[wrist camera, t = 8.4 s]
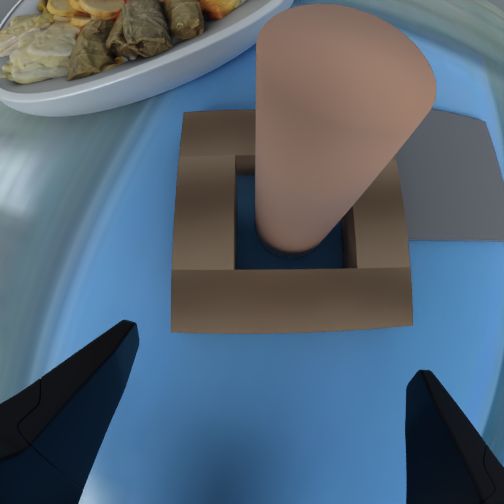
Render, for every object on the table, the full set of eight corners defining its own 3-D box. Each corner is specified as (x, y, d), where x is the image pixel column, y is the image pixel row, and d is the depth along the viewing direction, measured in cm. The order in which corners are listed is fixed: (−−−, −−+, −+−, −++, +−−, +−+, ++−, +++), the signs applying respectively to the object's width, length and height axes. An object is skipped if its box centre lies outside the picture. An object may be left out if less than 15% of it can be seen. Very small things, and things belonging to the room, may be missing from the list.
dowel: (334, 244, 18) (466, 116, 5) (269, 268, 18) (304, 152, 5) (309, 182, 19) (376, 1, 6) (245, 203, 19) (231, 15, 6)
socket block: (393, 324, 17) (412, 325, 15) (182, 330, 17) (171, 332, 15) (374, 137, 19) (386, 117, 17) (191, 134, 20) (183, 112, 17)
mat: (510, 241, 18) (514, 240, 18) (403, 240, 18) (406, 238, 18) (482, 124, 20) (485, 121, 20) (379, 104, 20) (381, 100, 20)
